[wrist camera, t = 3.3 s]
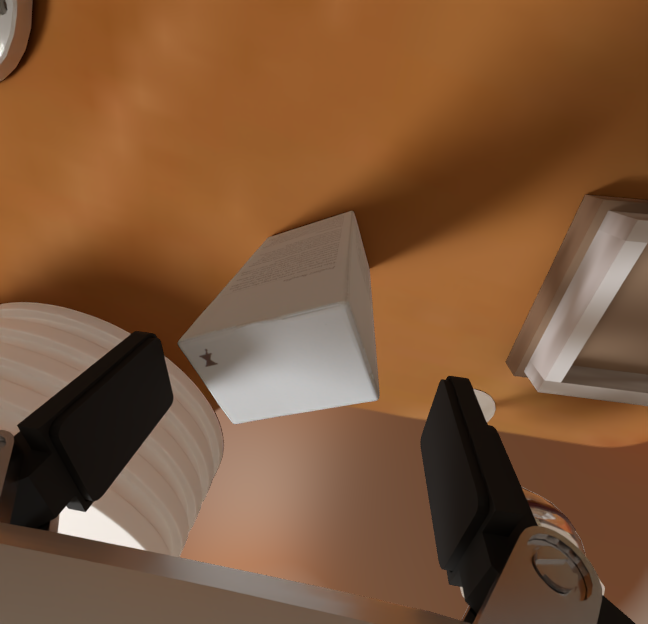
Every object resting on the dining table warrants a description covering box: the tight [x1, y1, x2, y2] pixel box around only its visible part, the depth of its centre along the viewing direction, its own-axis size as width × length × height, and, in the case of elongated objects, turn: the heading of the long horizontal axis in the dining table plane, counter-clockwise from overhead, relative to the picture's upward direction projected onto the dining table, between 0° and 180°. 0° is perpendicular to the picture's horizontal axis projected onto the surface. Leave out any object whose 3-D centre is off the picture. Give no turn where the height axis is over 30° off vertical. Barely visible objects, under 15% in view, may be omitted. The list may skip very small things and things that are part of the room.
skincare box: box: [178, 211, 379, 424], centre depth 15 cm, size 6×4×12 cm
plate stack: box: [0, 302, 224, 557], centre depth 28 cm, size 28×28×12 cm
